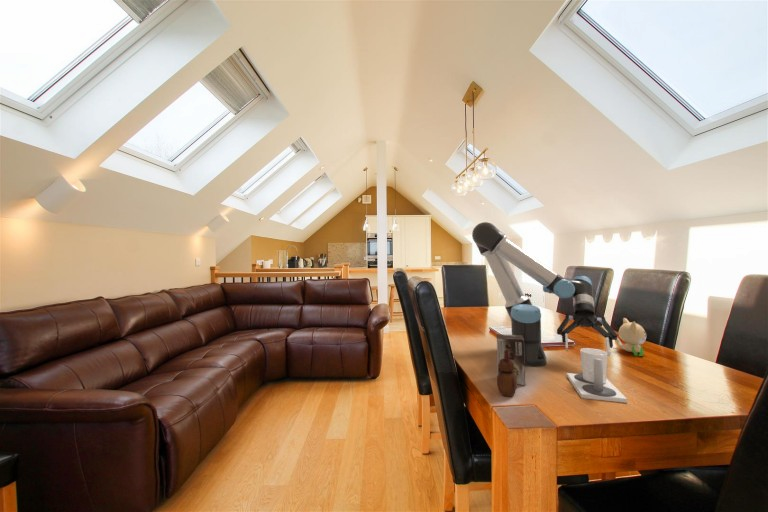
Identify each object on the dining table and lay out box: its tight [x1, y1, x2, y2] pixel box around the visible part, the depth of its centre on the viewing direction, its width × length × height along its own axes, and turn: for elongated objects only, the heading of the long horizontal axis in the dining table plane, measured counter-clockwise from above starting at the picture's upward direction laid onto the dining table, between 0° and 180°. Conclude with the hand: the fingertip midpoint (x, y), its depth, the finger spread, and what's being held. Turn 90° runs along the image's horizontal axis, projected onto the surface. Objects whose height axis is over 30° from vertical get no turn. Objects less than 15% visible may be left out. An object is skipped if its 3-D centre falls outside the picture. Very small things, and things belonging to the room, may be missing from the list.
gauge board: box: [566, 358, 628, 404], centre depth 105 cm, size 12×19×11 cm, turn 162°
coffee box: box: [496, 333, 527, 386], centre depth 112 cm, size 9×6×16 cm
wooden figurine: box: [496, 350, 518, 397], centre depth 101 cm, size 7×6×15 cm
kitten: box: [614, 317, 648, 357], centre depth 144 cm, size 15×10×15 cm
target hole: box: [574, 373, 594, 384], centre depth 109 cm, size 9×9×1 cm
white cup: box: [579, 347, 608, 383], centre depth 108 cm, size 8×8×10 cm
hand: (587, 351), depth 119 cm, fingers open, 13 cm apart
